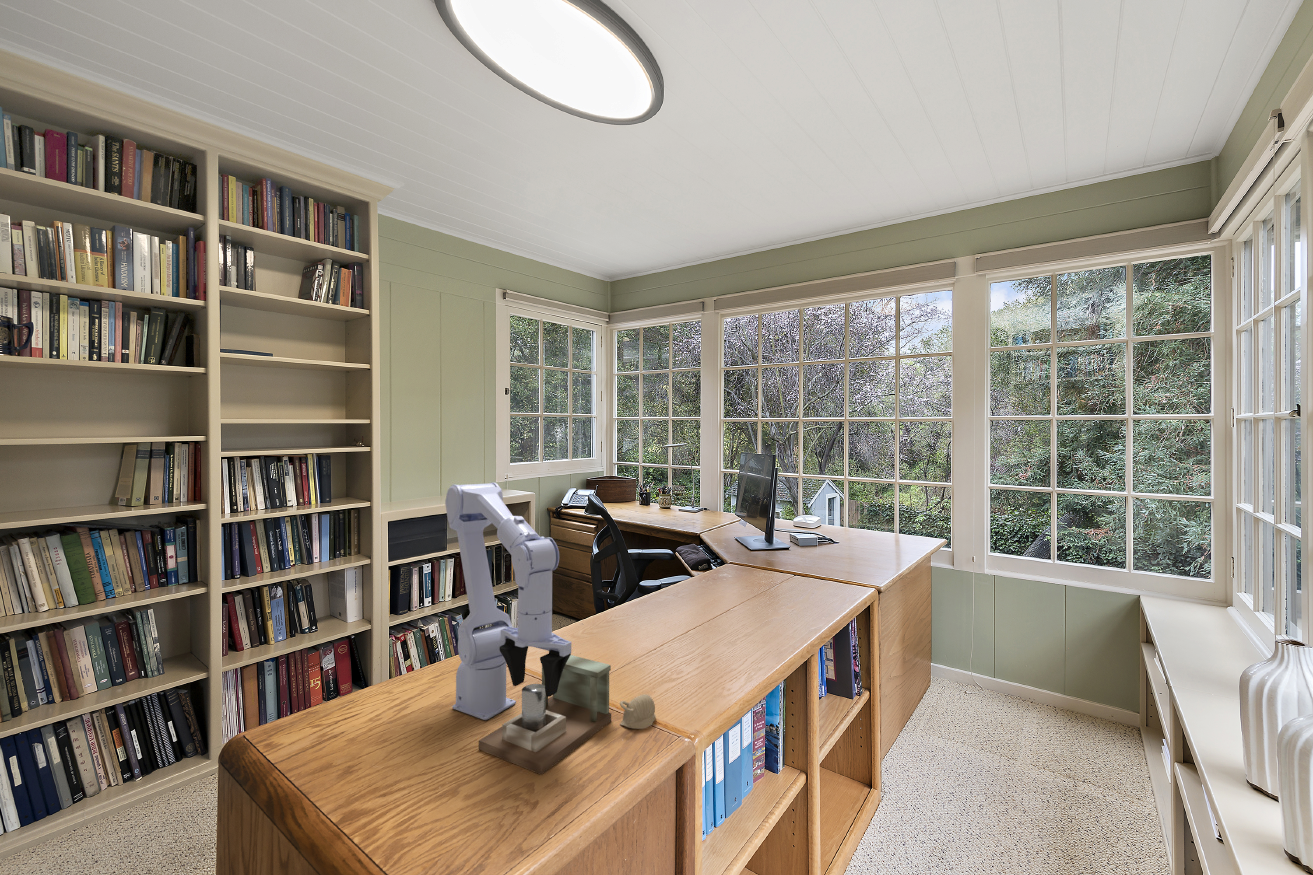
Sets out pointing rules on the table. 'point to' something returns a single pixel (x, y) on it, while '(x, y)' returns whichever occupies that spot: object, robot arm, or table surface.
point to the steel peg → (533, 707)
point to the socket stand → (557, 719)
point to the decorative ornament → (638, 712)
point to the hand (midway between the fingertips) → (534, 688)
